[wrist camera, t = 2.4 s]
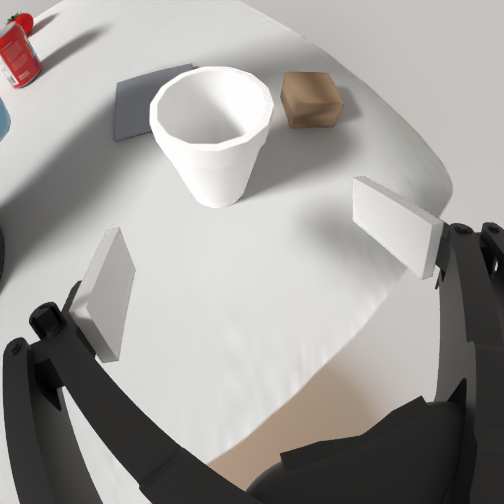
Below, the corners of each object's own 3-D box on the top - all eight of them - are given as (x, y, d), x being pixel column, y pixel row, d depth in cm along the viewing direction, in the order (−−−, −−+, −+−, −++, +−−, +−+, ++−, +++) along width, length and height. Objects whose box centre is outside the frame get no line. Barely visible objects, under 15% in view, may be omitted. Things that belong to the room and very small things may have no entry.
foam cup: (217, 136, 33) (212, 54, 21) (276, 179, 32) (297, 100, 20) (160, 187, 31) (125, 113, 19) (219, 239, 30) (209, 176, 18)
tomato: (38, 23, 45) (29, 2, 35) (36, 33, 43) (25, 10, 33) (11, 41, 43) (0, 21, 34) (7, 53, 41) (-5, 32, 31)
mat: (116, 141, 33) (114, 138, 32) (118, 86, 36) (116, 82, 35) (204, 118, 34) (203, 114, 33) (192, 67, 37) (192, 63, 36)
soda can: (11, 96, 36) (-20, 52, 21) (19, 75, 38) (-7, 33, 23) (38, 80, 37) (10, 30, 22) (46, 60, 38) (22, 14, 24)
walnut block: (290, 128, 35) (297, 103, 30) (280, 97, 36) (285, 72, 31) (333, 127, 35) (344, 103, 30) (319, 97, 37) (328, 72, 32)
